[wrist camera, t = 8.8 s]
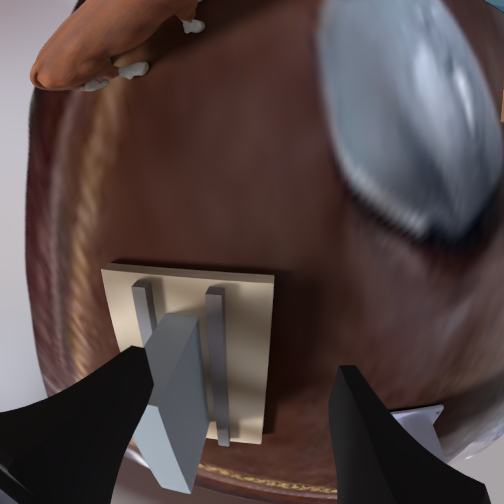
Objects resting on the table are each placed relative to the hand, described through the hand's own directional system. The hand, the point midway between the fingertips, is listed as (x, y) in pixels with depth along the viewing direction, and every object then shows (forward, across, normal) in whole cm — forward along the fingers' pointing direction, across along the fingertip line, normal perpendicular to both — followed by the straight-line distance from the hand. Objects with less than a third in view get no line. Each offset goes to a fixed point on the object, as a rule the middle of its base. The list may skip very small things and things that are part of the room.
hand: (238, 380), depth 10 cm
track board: (+9, +5, +9) cm, 14 cm away
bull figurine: (+10, +6, -16) cm, 20 cm away
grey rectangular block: (+8, +5, +9) cm, 13 cm away
